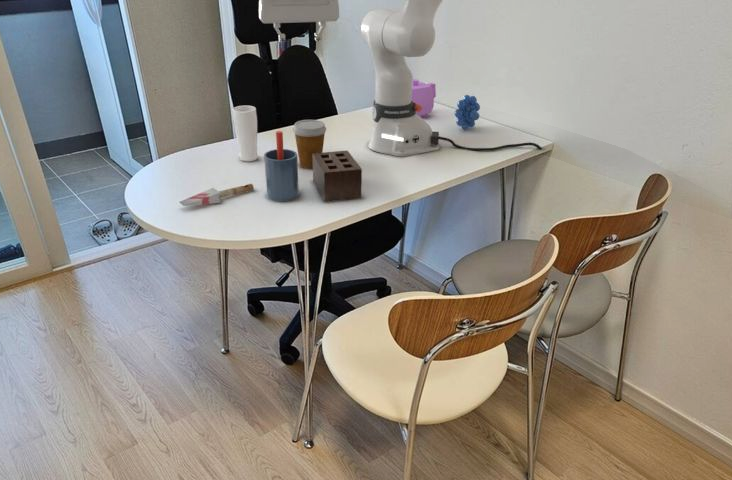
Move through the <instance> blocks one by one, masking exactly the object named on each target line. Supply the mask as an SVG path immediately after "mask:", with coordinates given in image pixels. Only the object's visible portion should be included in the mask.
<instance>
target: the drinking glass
mask: <svg viewBox="0 0 732 480" xmlns="http://www.w3.org/2000/svg"><path fill="white" fill-rule="evenodd" d="M232 120H233V127H234V131H235V138H236V143H237V148H238V149H237V150H238V154H239V159H240V160H241V161H243V162H254V161H256V160H257V159H258V156H259V155H258V114H257V108H256V107H255V106H253V105H237V106H235V107H233V108H232Z"/></svg>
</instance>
